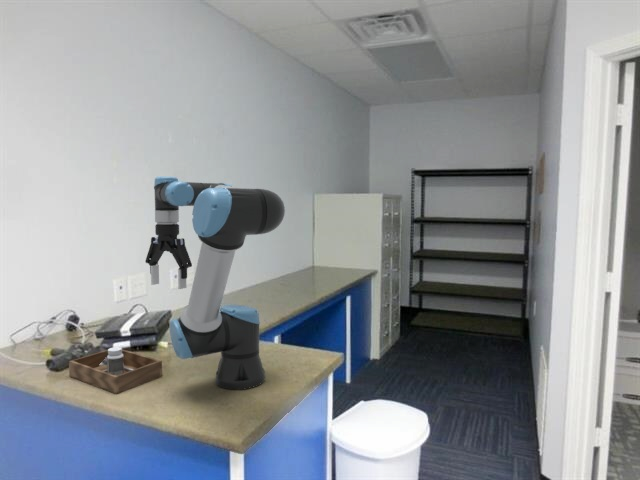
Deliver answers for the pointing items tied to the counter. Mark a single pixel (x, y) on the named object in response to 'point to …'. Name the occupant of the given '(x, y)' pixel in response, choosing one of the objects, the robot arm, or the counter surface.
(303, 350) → the counter surface
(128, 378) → the box
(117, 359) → the pill bottle
